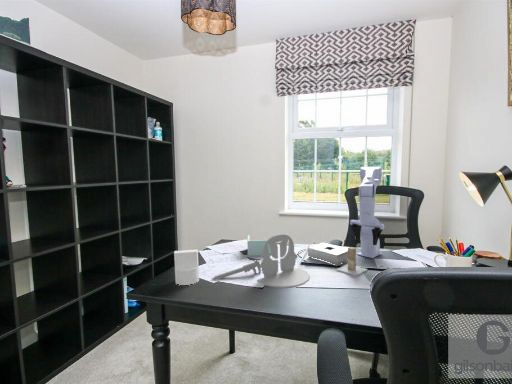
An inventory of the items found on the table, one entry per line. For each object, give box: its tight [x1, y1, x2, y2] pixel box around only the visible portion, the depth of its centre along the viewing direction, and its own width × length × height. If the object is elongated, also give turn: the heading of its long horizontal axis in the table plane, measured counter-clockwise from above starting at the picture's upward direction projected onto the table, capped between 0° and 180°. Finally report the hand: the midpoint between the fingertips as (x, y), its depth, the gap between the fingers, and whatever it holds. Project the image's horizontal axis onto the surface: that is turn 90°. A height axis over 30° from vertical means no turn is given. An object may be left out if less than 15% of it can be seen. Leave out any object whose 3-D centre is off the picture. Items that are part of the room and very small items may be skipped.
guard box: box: [307, 242, 349, 267], centre depth 131 cm, size 12×16×5 cm
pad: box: [336, 263, 368, 277], centre depth 116 cm, size 9×9×1 cm
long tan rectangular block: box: [347, 246, 357, 271], centre depth 115 cm, size 2×2×9 cm
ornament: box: [256, 233, 311, 289], centre depth 107 cm, size 22×13×17 cm, turn 123°
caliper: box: [211, 258, 262, 280], centre depth 112 cm, size 20×1×6 cm, turn 108°
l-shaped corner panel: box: [246, 234, 272, 257], centre depth 144 cm, size 12×12×8 cm
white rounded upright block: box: [173, 249, 200, 286], centre depth 109 cm, size 9×9×12 cm
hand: (366, 243), depth 120 cm, fingers open, 7 cm apart
